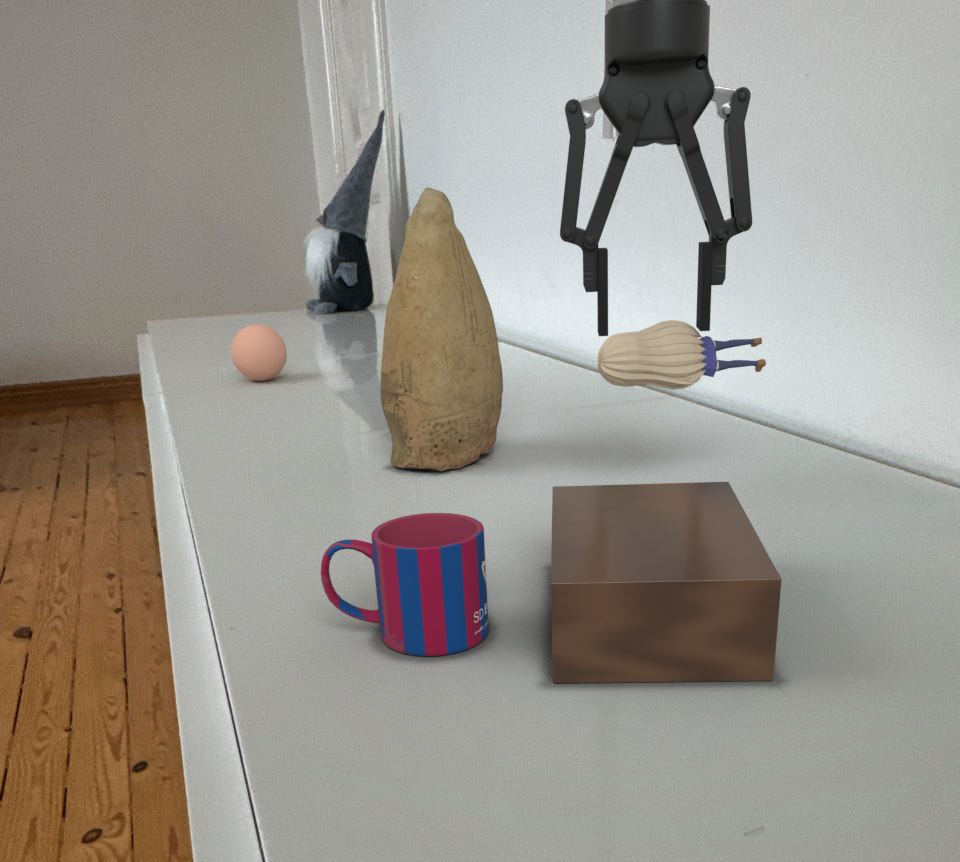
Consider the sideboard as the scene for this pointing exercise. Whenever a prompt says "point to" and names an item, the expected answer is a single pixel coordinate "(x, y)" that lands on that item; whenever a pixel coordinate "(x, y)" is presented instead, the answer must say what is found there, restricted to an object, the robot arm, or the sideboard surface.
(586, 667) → the walnut block
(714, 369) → the figurine
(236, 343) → the toy ball
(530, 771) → the sideboard surface
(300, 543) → the sideboard surface
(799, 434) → the sideboard surface
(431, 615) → the mug
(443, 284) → the sculpture
